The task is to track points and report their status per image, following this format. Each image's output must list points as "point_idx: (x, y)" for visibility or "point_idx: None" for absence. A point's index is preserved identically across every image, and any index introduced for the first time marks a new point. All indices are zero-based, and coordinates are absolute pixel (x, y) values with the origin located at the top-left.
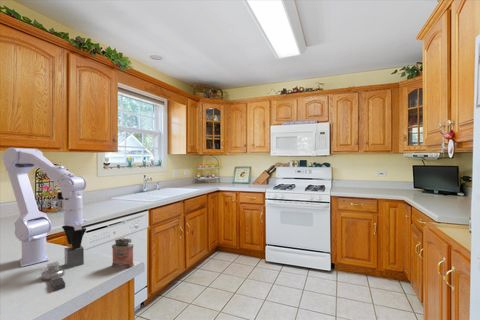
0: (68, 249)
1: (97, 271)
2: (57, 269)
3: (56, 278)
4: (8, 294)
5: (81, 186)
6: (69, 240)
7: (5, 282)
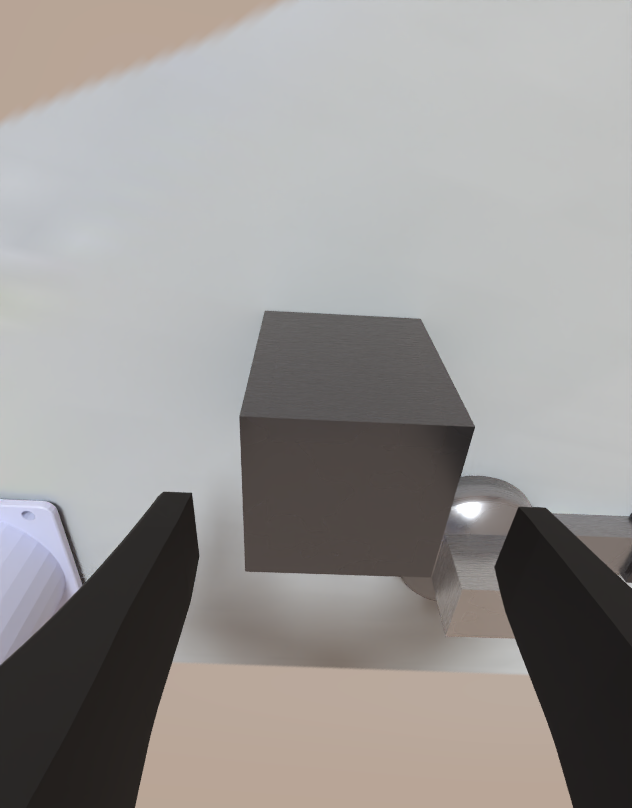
0: (351, 555)
1: None
2: None
3: (608, 553)
4: (493, 665)
5: None
6: (184, 605)
7: (306, 664)
